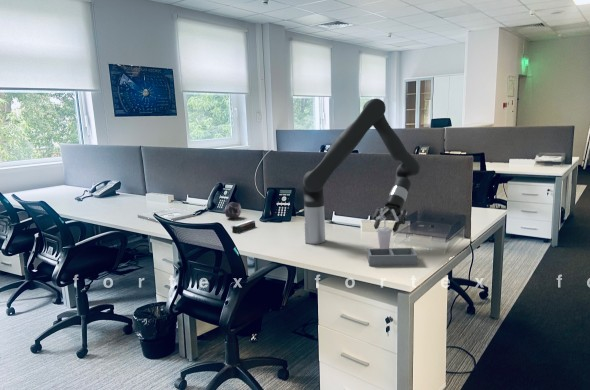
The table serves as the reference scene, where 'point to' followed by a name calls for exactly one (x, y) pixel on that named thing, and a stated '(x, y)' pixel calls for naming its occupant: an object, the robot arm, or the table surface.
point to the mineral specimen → (232, 210)
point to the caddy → (391, 257)
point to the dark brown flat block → (243, 226)
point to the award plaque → (168, 214)
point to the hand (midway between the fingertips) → (384, 229)
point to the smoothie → (384, 236)
